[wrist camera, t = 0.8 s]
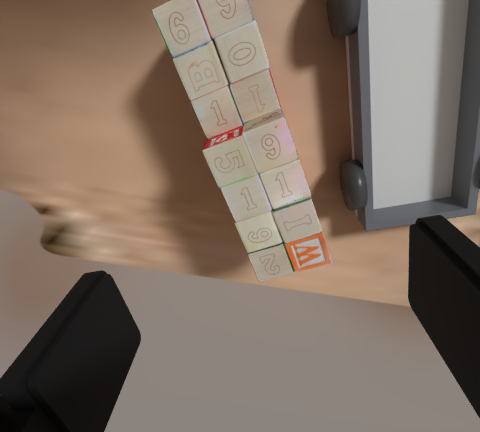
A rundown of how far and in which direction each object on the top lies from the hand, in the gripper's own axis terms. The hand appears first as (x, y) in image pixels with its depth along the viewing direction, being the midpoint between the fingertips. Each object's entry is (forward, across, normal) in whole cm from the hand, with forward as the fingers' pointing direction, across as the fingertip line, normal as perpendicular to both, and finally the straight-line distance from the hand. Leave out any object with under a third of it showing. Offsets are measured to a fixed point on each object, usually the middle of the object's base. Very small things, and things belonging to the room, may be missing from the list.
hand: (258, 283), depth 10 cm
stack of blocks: (+26, 0, 0) cm, 26 cm away
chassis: (+25, -15, 0) cm, 29 cm away
